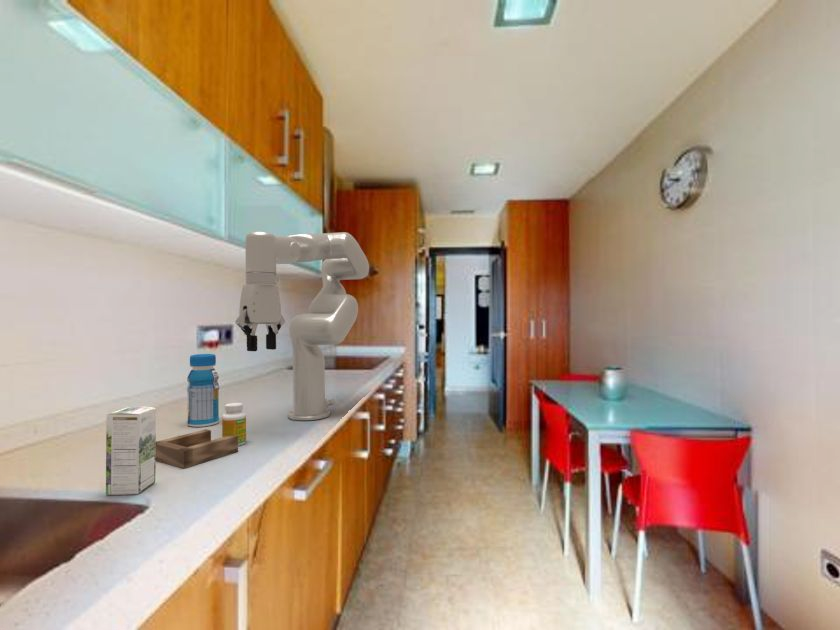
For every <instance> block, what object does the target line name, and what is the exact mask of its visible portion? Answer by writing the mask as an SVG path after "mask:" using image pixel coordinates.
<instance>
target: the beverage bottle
mask: <svg viewBox="0 0 840 630" xmlns="http://www.w3.org/2000/svg"><path fill="white" fill-rule="evenodd" d="M216 359H217V357H216V354H214V353H200V354H199V353H197V354H191V355H190V356H189V366H190V368H192V369H191V370H190V372H189V373H188V375H187V378H186V380H187V382H188V385H187V386H186V392H187V393H186V394H187V425H188V426H189V427H193V428H205V427H209V426H210V427H211V426H214V425H216V424H218V423H219V420H220V416H219V415H220V414H219V411H220V410H219V403H220V402H219V391H220V383H219V381H218V380H219V378H220V377H219V374H218V371H216V369H215V368H214V367H215V366H216V364H217V363H216V362H217V360H216Z"/></svg>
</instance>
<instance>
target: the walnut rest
mask: <svg viewBox="0 0 840 630" xmlns="http://www.w3.org/2000/svg"><path fill="white" fill-rule="evenodd" d="M238 452H239V446H238V436H236V435H230V436H226V437H223V438H222V437H219V438H215V439H212V430H211V429H202V430H198V431H193V432H190V433H187V434H186V433H185V434H181V435H177V436H173V437H170V438H165V439H162V440H158V441H157V440H156V461H157V462H159V463H164V464H167V465H169V466H173V467H176V468H180V469H184V470H185V469H187V468H190V467H194V466H196V465H199V464H200V465H201V464H203V463H206V462H210V461H212V460H216V459H220V458H222V457H225V456H229V455H231V454H235V453H238Z"/></svg>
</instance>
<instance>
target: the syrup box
mask: <svg viewBox="0 0 840 630" xmlns="http://www.w3.org/2000/svg"><path fill="white" fill-rule="evenodd" d="M105 421H106V426H105V427H106V428H105V430H106V431H105V432H106V437H105V438H106V439H105V441H106V442H105V443H106V444H105V494H106V496H122V495H124V496H126V495H139V494H140V493H142V492H144V491H145V490H146V489H147V488H149V487H150V486H151V485H153V484H155V483H156V471H157V469H156V442H157V439H156V438H157V408H155V407H152V406H128V407H124V408H122V409H119V410H116V411H112V412H110V413H107V414H106V419H105Z"/></svg>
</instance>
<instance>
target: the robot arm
mask: <svg viewBox="0 0 840 630" xmlns="http://www.w3.org/2000/svg"><path fill="white" fill-rule="evenodd" d="M317 261H322V264H321V267H320V268H321V269H320V270H321V271H320V272H321V279H322V288H321V289H320V291H319V292H318V293H317V295H316V296H315V297H314V298H313V300H312V301H311V303H310V305H309V307H308V311H307V312H308V313H301V314H298V315H295V316H294V317H293V318H292V319H291V320H290V322H289V326H288V332H289V337H290V341H291V350H292V383H293V384H292V385H293V386H292V390H293V391H292V392H293V395H292V404H293V405H292V406H293V408H292V410H291V411H289V412H288V413H287V418H289V420H293V421H314V420H315V421H316V420H321V419H325V418H328V417H330V416H331V411H330V409H328V407H329V406H334V405H335V404H336V403H335V399H333V398H330V399H326V386H325V385H326V382H325V381H326V378H325V376H326V375H325V374H326V373H325V372H326V371H325V369H326V368H325V367H326V359H325V355H324V353H323V351H322V349H321V348H320V346H334V345H335V346H336V345H339V344H341V343H342V342H343V341H344V340H345V339H346V337H347V335H348V334H349V332H350V331H351V328H352V327H353V325H354V324H355V322H356V321H357V319H358V313H359V304H358V301H357V299H356V298H355V296H354V295H351V294H347V291H346V289H345V287H344V286H343V284H342V283H341V281H343V280H363V279H365V278H367V276H368V275H369V272H370V263H369V261H368V258H367V256H366V254H365V253H364V251H363V250H362V248H361V246H360V244H359V242H358V241H357V240H356V238H355V237H354V236H353V235H352V234H350V233H349V232H345V231H342V232H325V233H302V234H301V233H300V234H294V235H293V234H292V235H287V236H286V235H274V234H273V233H270V232H266V231H252V232H248V233H247V234H246V235H245V284H243V285H242V288H241V293H240V300H239V312H238V313H239V314H238V315H239V316H238V317H237V319H236V320H235V324H236V326H238V327H239V328H240V330H241V331H242V332H243V334H244V335H245V336H246V351H247V352H257V351H258V335H256V332H257V328H258V325H265V328H266V330H267V331H266V332H267V333H265V334H266V335H265V349H267V350H276V349H277V335H278V334H279V331H280V330H281V327H282V326H283V325H284V324H285V323H286V320H285V318H284V316H283V315H282V308H281V307H282V306H281V297H280V296H281V295H280V291H279V287H278V286H277V283H278V282H279V278H278V277H277V265H288V264H293V263H310V262H317Z"/></svg>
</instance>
